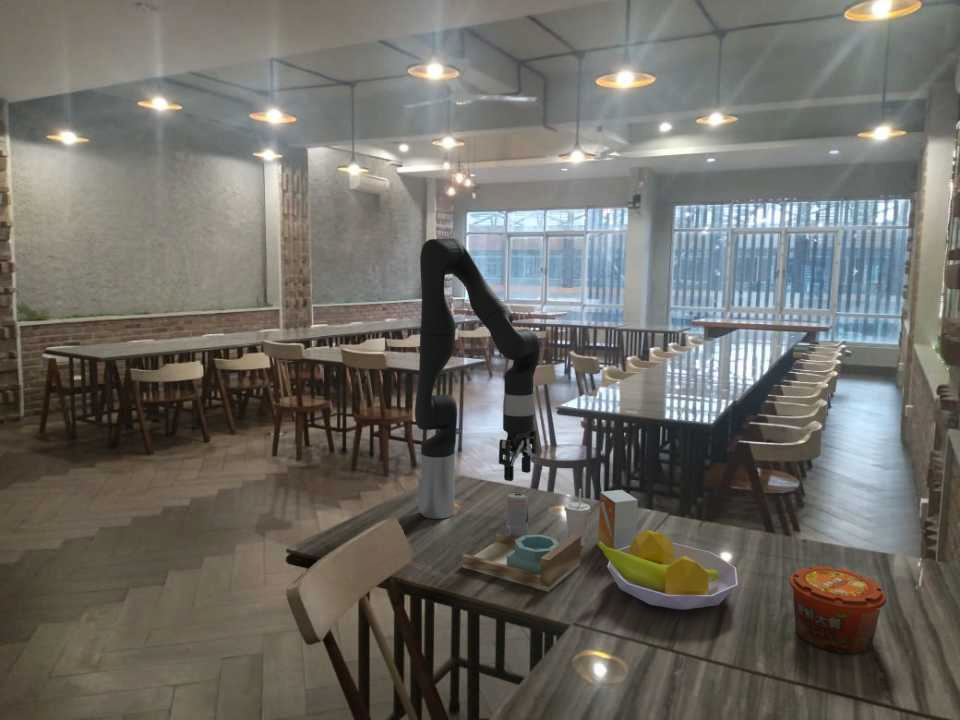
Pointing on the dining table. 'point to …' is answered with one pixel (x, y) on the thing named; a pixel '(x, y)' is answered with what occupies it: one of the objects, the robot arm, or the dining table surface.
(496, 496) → the dining table surface
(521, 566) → the tray
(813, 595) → the food container
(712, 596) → the fruit bowl
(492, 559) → the wooden tray
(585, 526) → the smoothie
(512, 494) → the energy drink
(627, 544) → the small box
